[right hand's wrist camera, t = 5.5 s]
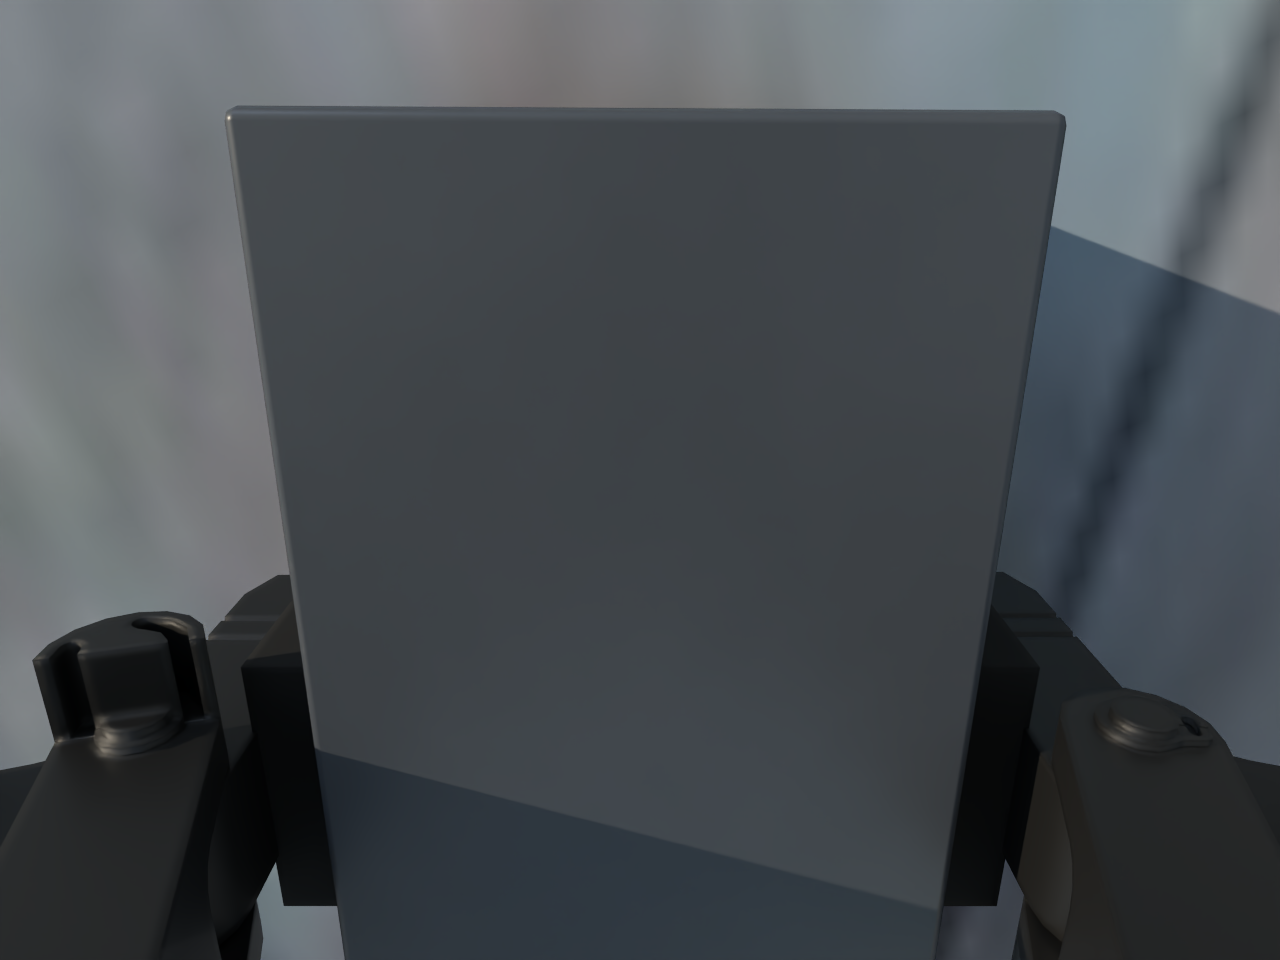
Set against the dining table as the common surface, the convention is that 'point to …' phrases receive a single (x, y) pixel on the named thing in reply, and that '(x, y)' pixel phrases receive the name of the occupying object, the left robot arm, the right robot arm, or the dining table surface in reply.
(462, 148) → the beam
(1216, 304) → the dining table surface
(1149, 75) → the dining table surface
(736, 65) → the dining table surface
